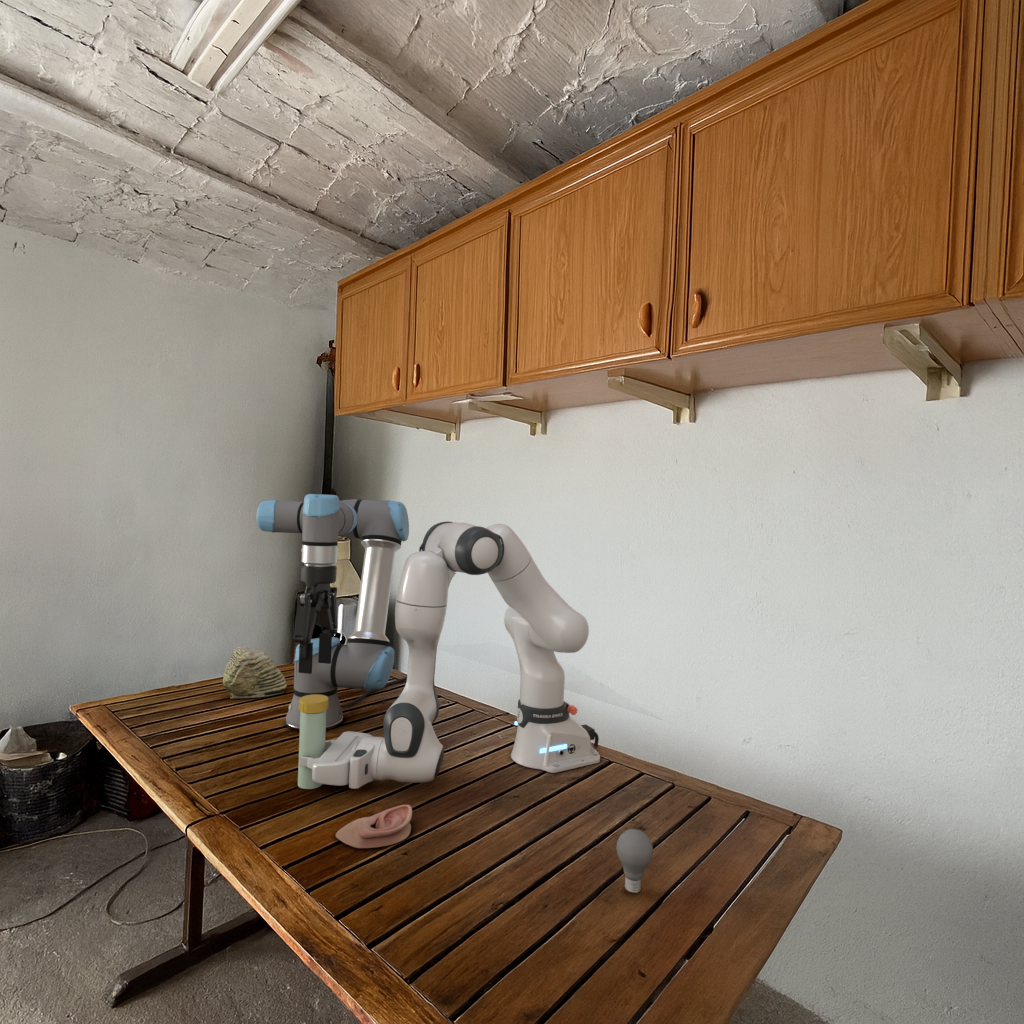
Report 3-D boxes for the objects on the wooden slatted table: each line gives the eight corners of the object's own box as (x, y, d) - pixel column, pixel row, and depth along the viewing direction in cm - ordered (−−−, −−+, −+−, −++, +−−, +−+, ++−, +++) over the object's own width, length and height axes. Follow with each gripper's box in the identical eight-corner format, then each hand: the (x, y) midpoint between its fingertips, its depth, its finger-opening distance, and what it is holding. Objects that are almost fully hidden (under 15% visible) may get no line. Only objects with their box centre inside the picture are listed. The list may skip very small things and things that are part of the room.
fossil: (218, 695, 195) (220, 647, 195) (278, 685, 208) (279, 640, 207) (228, 703, 189) (230, 653, 188) (289, 692, 201) (290, 645, 201)
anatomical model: (328, 822, 116) (356, 794, 127) (327, 843, 116) (355, 813, 127) (396, 832, 113) (418, 803, 124) (395, 855, 113) (418, 823, 124)
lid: (324, 702, 144) (324, 692, 144) (331, 711, 138) (331, 701, 138) (296, 706, 140) (296, 696, 140) (302, 715, 135) (302, 704, 135)
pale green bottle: (320, 776, 143) (323, 695, 143) (326, 786, 139) (329, 702, 138) (295, 780, 141) (298, 698, 140) (300, 791, 136) (303, 705, 136)
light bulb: (610, 879, 108) (613, 822, 108) (644, 879, 109) (647, 822, 109) (619, 902, 102) (622, 840, 102) (655, 901, 103) (658, 840, 103)
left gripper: (325, 559, 150) (322, 655, 150) (277, 568, 129) (273, 678, 130) (355, 561, 148) (351, 658, 149) (311, 570, 128) (306, 682, 128)
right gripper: (383, 726, 149) (325, 722, 150) (355, 762, 128) (289, 757, 129) (382, 753, 149) (324, 748, 150) (353, 792, 129) (287, 787, 130)
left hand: (315, 667), depth 139 cm, fingers open, 8 cm apart
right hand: (307, 752), depth 140 cm, fingers open, 7 cm apart
